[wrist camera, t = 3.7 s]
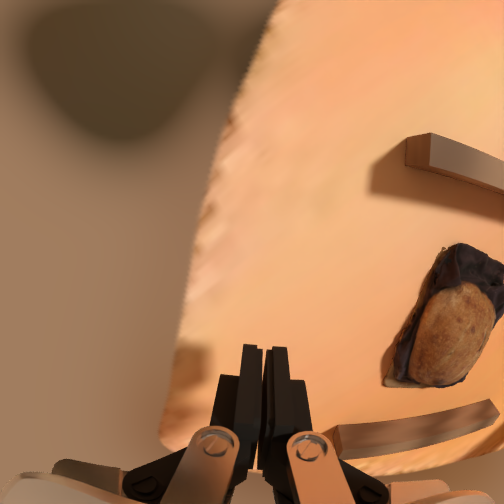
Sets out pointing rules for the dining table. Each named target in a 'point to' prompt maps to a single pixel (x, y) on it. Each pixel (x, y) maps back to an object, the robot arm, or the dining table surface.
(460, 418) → the shelf lane
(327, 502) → the robot arm
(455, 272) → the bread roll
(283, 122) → the dining table surface
